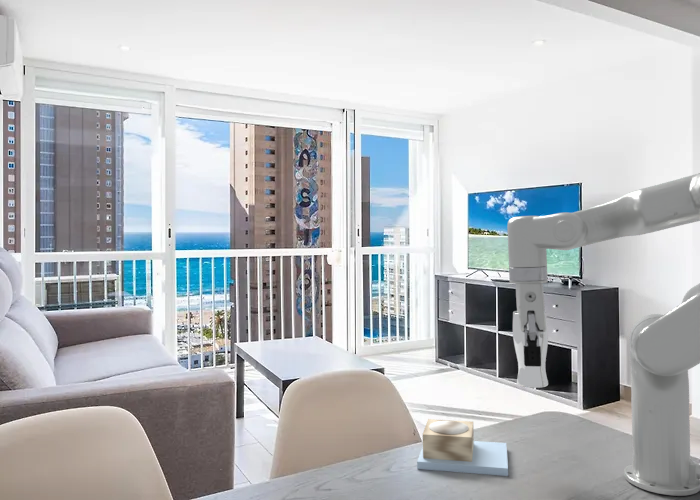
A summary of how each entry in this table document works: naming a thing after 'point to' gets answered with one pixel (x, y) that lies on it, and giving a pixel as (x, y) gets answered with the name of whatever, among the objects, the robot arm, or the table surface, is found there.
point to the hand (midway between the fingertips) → (531, 361)
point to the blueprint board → (473, 460)
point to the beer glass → (526, 374)
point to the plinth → (448, 440)
